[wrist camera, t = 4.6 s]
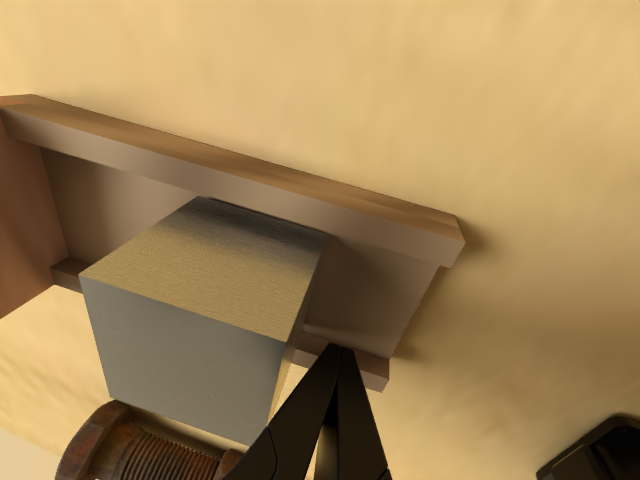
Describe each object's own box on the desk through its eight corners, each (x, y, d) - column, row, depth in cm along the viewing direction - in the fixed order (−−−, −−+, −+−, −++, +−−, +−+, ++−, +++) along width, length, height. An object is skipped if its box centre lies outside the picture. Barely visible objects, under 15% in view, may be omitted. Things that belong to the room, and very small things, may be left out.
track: (454, 215, 11) (493, 310, 7) (382, 355, 15) (378, 469, 11) (30, 94, 12) (-168, 109, 8) (73, 256, 16) (-42, 323, 12)
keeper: (328, 234, 11) (286, 342, 7) (302, 329, 13) (261, 450, 9) (197, 195, 11) (78, 274, 7) (197, 295, 14) (110, 397, 10)
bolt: (292, 457, 26) (124, 396, 26) (299, 470, 22) (96, 397, 21) (266, 547, 23) (77, 479, 23) (268, 584, 19) (33, 500, 18)
